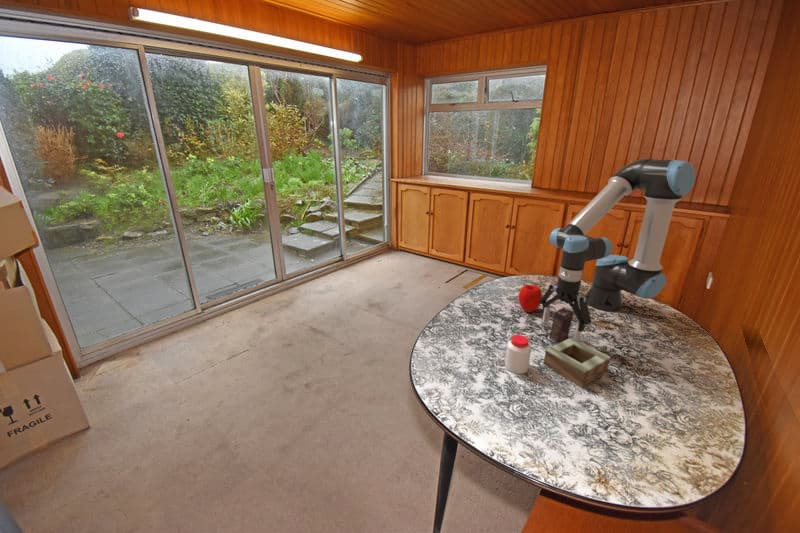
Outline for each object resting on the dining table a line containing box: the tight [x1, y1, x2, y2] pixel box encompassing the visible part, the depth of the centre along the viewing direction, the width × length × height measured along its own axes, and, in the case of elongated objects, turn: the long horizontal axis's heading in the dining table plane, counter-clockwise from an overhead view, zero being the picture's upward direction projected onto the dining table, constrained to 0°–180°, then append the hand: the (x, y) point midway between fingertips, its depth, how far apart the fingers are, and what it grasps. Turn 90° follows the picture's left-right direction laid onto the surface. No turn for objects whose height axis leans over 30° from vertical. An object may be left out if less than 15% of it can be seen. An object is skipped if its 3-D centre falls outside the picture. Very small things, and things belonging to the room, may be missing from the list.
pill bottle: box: [504, 334, 532, 375], centre depth 117 cm, size 8×8×11 cm
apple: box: [517, 284, 543, 313], centre depth 154 cm, size 10×10×12 cm
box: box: [549, 307, 575, 344], centre depth 132 cm, size 6×4×12 cm
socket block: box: [543, 337, 611, 388], centre depth 117 cm, size 14×14×6 cm
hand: (560, 329), depth 133 cm, fingers open, 13 cm apart
